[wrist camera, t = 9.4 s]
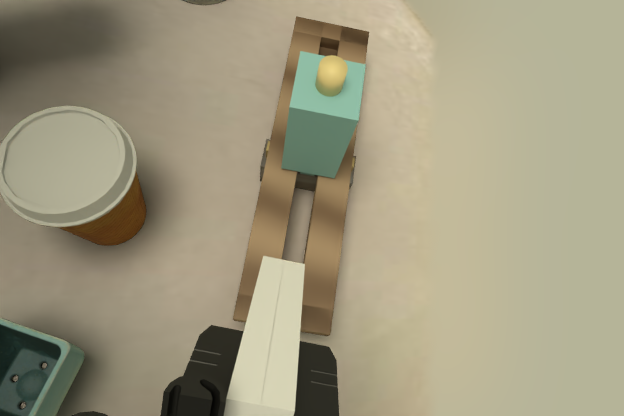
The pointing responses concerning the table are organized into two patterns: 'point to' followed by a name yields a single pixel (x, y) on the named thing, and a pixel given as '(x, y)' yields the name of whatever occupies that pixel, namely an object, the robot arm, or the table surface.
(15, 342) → the flower pot
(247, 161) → the table surface
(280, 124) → the brown flat slatted piece
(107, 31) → the table surface
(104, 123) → the disposable coffee cup
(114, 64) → the table surface
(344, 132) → the block
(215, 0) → the coffee mug
